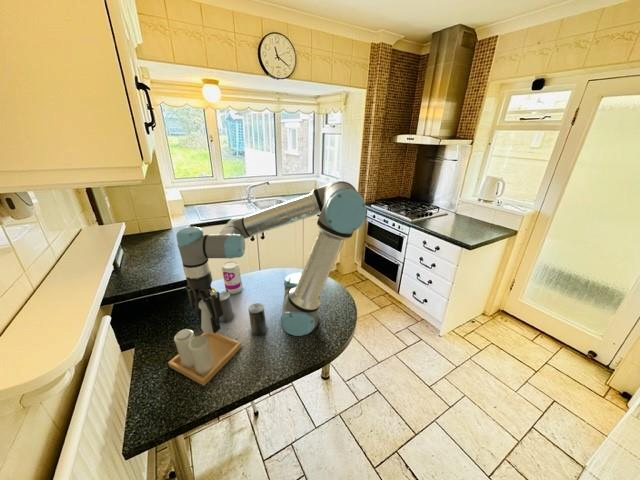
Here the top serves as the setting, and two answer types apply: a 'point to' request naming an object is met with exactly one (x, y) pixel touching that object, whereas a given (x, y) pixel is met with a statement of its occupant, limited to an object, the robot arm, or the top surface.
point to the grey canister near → (257, 319)
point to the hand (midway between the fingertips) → (210, 327)
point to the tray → (220, 352)
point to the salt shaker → (205, 318)
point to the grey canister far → (226, 307)
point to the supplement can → (232, 277)
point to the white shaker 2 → (201, 355)
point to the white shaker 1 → (184, 347)
